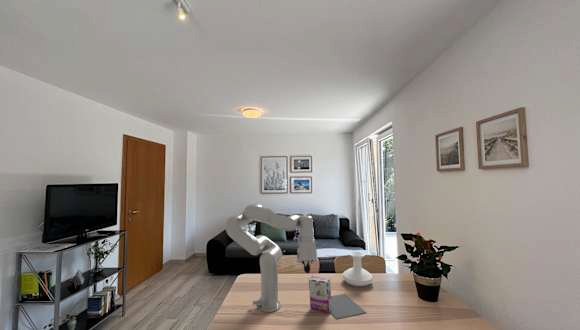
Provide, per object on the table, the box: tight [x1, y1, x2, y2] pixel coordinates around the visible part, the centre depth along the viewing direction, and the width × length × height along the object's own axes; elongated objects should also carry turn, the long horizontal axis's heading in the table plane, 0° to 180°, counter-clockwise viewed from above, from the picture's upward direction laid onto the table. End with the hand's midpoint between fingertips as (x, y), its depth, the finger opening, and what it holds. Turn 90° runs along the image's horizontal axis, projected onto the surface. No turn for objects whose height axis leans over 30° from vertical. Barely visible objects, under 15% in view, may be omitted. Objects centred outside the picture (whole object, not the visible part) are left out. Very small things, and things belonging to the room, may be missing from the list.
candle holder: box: [342, 251, 373, 288], centre depth 169 cm, size 20×20×19 cm
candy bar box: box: [308, 276, 332, 314], centre depth 135 cm, size 11×5×16 cm, turn 62°
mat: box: [329, 293, 367, 320], centre depth 139 cm, size 18×22×1 cm
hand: (307, 272), depth 133 cm, fingers closed
